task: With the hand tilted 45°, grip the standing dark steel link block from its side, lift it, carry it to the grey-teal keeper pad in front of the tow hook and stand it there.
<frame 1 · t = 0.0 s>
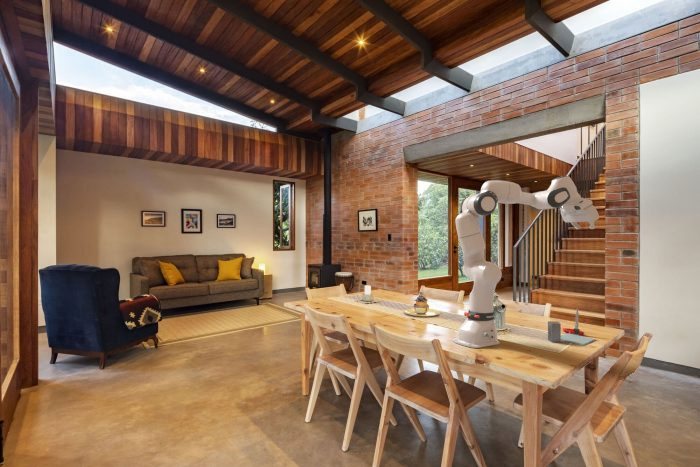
hand: (585, 228, 175), 54 cm above the table, tool tilted 30°, fingers open, 8 cm apart
tow hook: (572, 332, 180), on the table, touching keeper pad
link block: (554, 341, 166), on the table
keeper pad: (575, 339, 168), on the table
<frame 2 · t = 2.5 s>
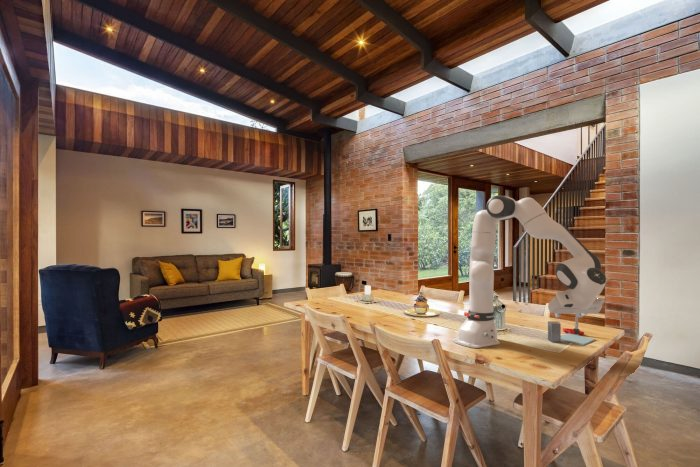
hand: (568, 316, 154), 15 cm above the table, tool tilted 45°, fingers open, 8 cm apart
nothing on the table moved.
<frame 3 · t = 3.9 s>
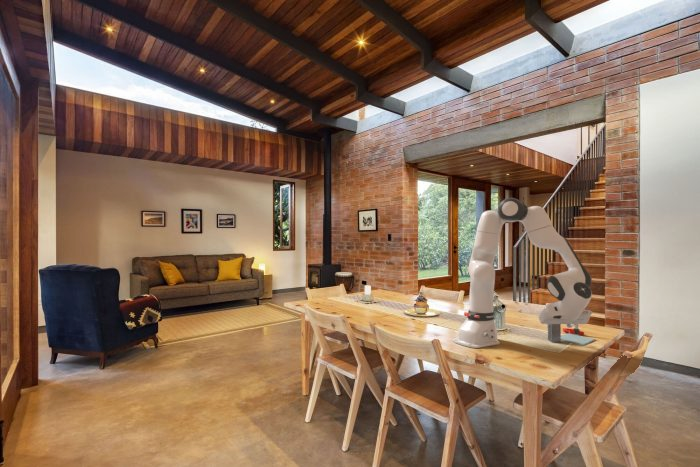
hand: (558, 326, 163), 8 cm above the table, tool tilted 45°, fingers open, 8 cm apart
nothing on the table moved.
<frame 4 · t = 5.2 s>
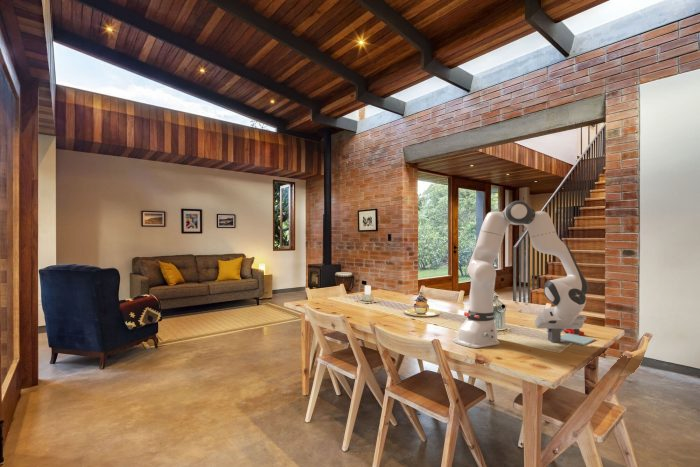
hand: (553, 330, 167), 5 cm above the table, tool tilted 45°, fingers closed on link block, 4 cm apart
link block: (554, 341, 166), on the table, touching gripper
everything else where it was.
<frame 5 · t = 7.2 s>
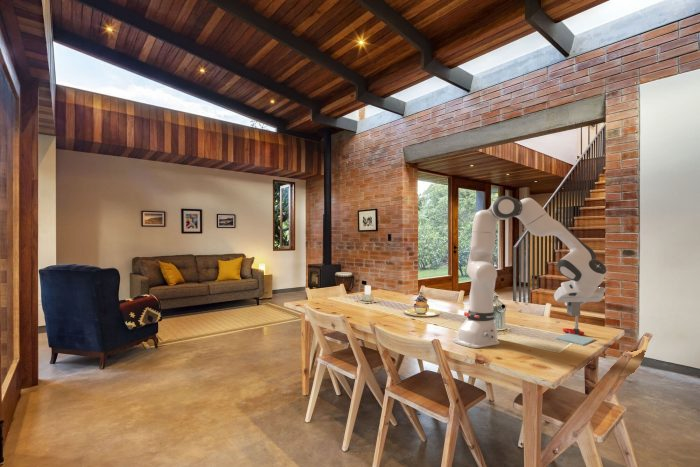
hand: (572, 304, 168), 17 cm above the table, tool tilted 45°, fingers closed on link block, 4 cm apart
link block: (573, 315, 167), point 12 cm above the table, touching gripper
everything else where it was.
when the fingers open (7 cm above the table, at t = 9.5 s): link block drops 1 cm, resting on keeper pad.
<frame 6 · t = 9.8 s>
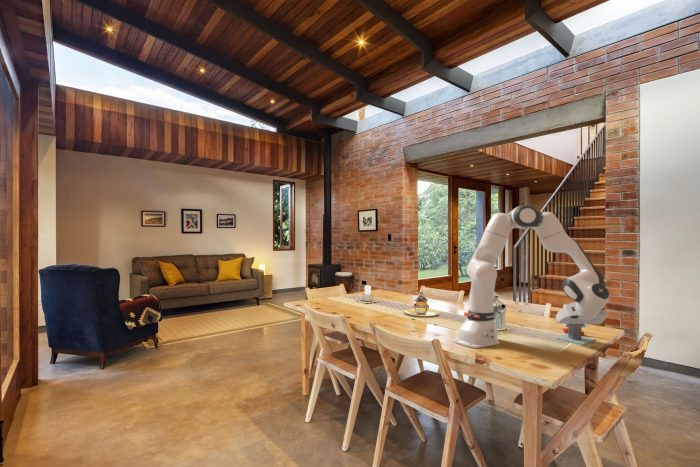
hand: (574, 325, 169), 7 cm above the table, tool tilted 45°, fingers open, 6 cm apart
link block: (574, 338, 168), point 1 cm above the table, touching keeper pad
everything else where it was.
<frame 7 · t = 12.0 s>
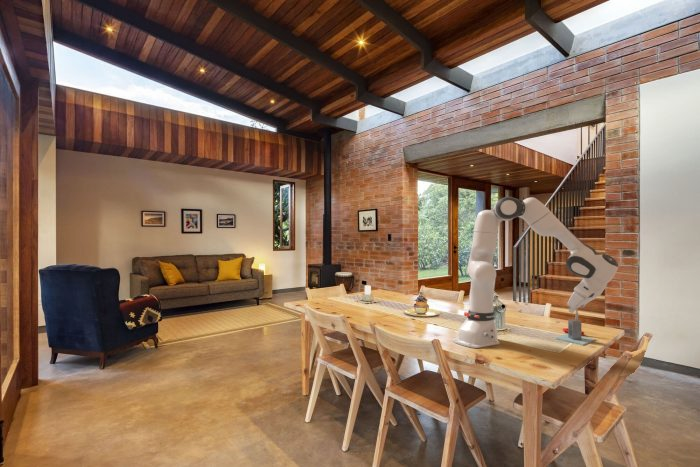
hand: (576, 309, 163), 16 cm above the table, tool tilted 35°, fingers open, 8 cm apart
nothing on the table moved.
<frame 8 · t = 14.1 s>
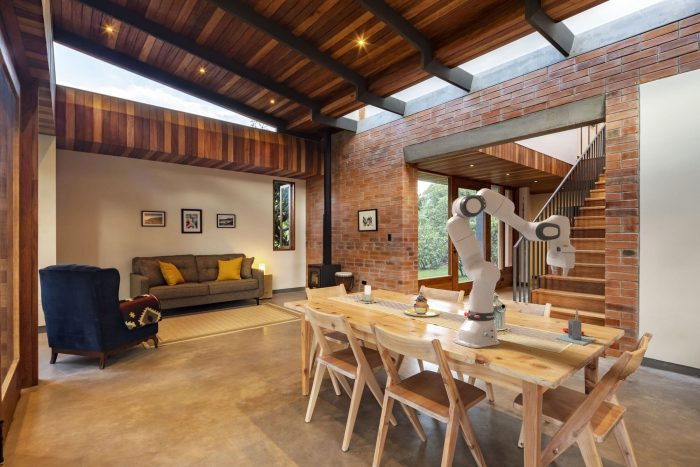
hand: (559, 275, 170), 31 cm above the table, tool pointing down, fingers open, 8 cm apart
nothing on the table moved.
at the end: link block inside the target area (0.6 cm from its centre), point 0.6 cm above the table; link block tilted 0°; link block 13.4 cm from the tow hook (horizontally) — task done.
